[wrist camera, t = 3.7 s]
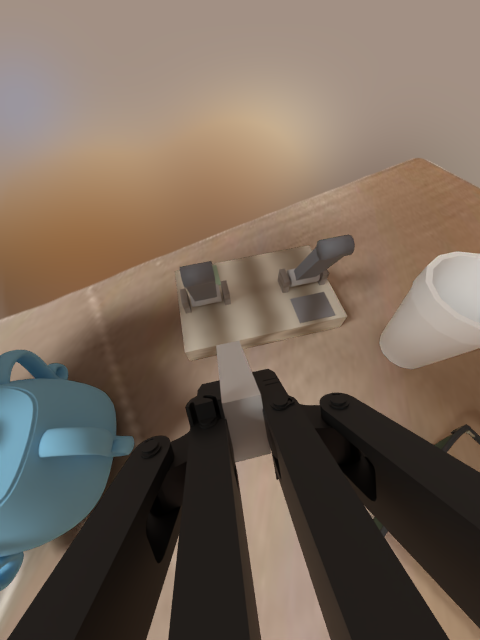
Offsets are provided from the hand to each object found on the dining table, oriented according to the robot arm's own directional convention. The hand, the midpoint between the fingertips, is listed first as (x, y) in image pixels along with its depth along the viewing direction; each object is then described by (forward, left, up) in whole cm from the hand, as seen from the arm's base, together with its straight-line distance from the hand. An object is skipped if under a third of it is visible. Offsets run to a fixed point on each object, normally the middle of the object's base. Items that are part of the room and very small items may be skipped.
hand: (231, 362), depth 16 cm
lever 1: (-1, +15, -13) cm, 20 cm away
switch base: (+6, +15, -17) cm, 23 cm away
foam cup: (+24, +3, -17) cm, 29 cm away
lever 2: (+13, +15, -13) cm, 24 cm away
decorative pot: (-21, 0, -17) cm, 27 cm away
